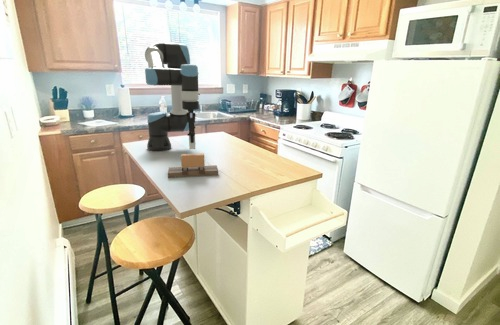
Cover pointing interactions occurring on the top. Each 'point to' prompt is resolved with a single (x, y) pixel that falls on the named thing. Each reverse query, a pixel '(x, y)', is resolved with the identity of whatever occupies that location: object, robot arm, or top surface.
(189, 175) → the rail
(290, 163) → the top surface
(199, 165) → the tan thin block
